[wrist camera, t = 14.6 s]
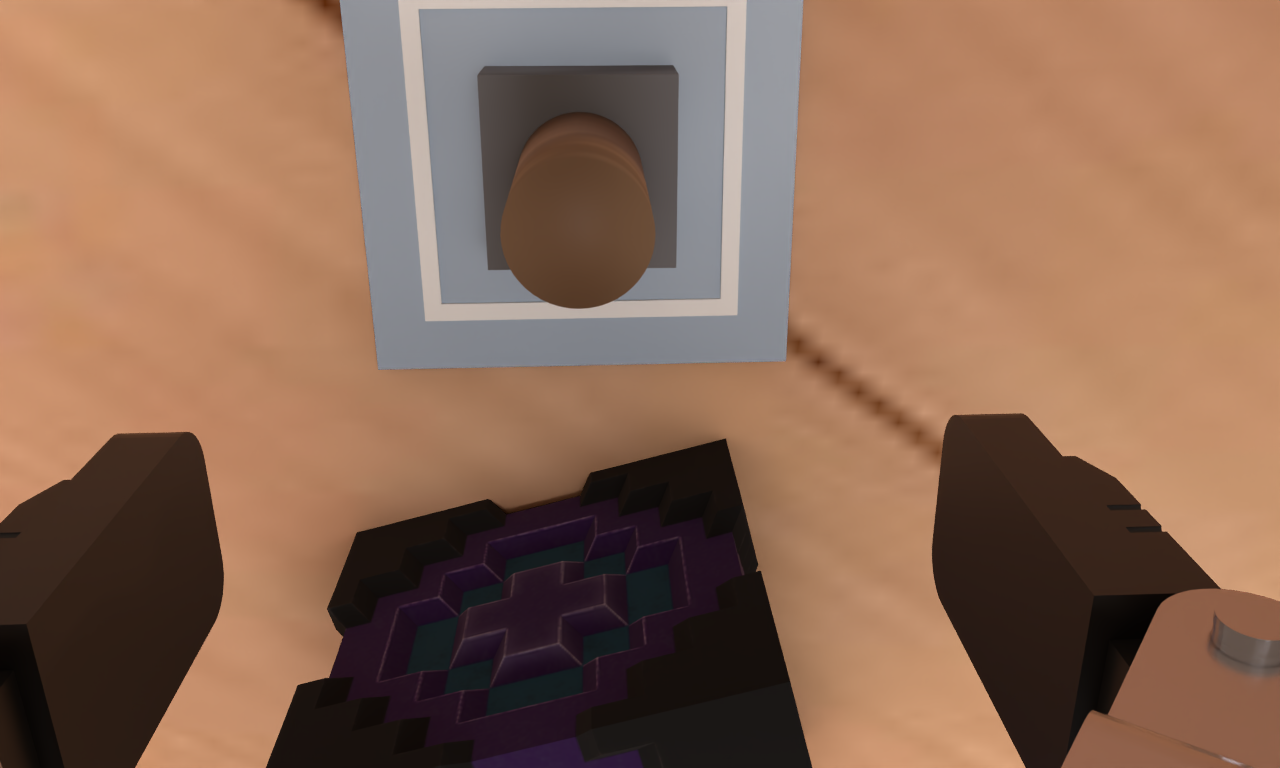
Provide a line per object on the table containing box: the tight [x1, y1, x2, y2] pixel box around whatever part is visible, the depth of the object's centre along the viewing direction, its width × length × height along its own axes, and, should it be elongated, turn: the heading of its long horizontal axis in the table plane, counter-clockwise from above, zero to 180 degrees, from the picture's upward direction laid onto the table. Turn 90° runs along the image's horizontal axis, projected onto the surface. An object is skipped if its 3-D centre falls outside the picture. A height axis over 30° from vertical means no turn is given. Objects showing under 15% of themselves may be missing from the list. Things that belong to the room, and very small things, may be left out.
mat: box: [340, 0, 803, 370], centre depth 30 cm, size 12×12×1 cm
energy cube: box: [266, 439, 812, 768], centre depth 31 cm, size 12×12×12 cm
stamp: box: [477, 65, 679, 309], centre depth 26 cm, size 5×5×8 cm
